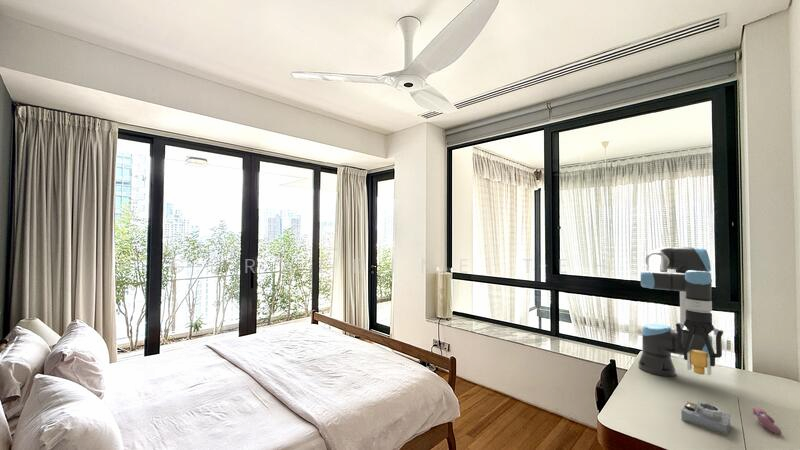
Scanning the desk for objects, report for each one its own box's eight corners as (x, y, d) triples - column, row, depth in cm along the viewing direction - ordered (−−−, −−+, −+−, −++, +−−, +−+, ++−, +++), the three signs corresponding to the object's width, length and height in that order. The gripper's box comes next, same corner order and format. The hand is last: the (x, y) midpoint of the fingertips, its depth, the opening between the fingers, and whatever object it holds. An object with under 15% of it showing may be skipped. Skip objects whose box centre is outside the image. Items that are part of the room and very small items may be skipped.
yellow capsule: (689, 372, 123) (688, 351, 123) (691, 369, 126) (691, 348, 126) (706, 376, 119) (706, 355, 119) (709, 373, 122) (709, 352, 122)
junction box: (681, 419, 120) (681, 403, 121) (687, 410, 127) (687, 395, 128) (726, 435, 111) (726, 418, 111) (730, 424, 118) (730, 408, 118)
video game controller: (759, 424, 121) (747, 404, 124) (775, 422, 119) (762, 402, 121) (766, 436, 114) (753, 415, 116) (783, 435, 111) (770, 414, 113)
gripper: (666, 307, 128) (666, 365, 127) (730, 316, 114) (731, 382, 113) (671, 305, 133) (671, 362, 132) (733, 314, 119) (734, 377, 117)
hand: (699, 371), depth 122 cm, fingers closed on yellow capsule, 5 cm apart
